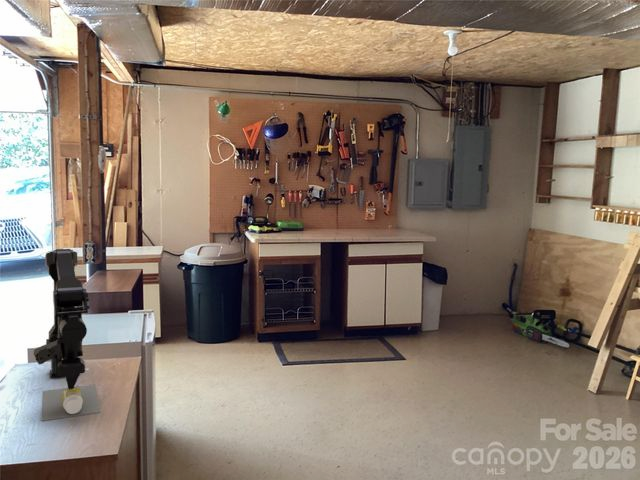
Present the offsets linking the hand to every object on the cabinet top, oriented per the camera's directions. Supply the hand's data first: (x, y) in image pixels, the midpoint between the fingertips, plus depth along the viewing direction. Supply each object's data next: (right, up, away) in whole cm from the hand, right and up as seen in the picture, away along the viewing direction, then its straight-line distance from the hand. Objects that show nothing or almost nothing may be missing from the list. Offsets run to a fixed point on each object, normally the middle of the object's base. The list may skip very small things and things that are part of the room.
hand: (70, 388), depth 140 cm
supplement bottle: (-2, -3, +5) cm, 6 cm away
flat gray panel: (-3, -5, +6) cm, 8 cm away
